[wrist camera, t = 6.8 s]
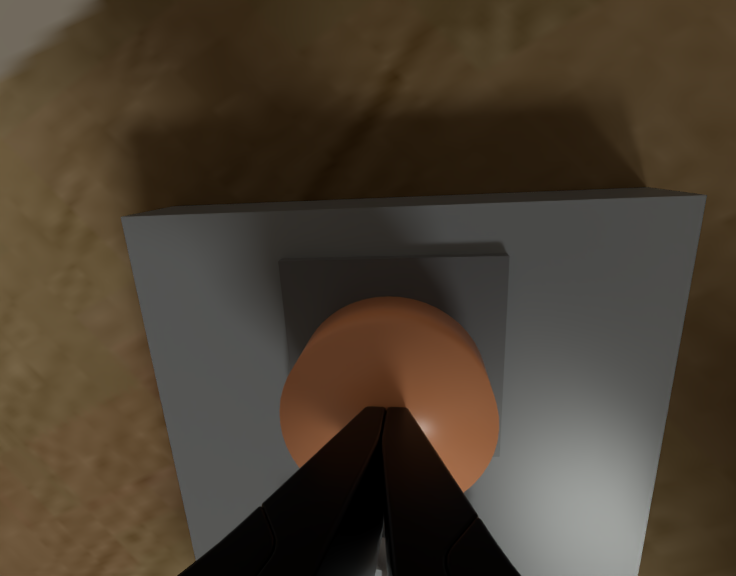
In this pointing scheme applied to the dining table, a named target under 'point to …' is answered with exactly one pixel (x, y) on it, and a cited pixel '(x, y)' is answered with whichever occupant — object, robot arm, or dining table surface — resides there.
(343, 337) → the push button
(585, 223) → the switch console
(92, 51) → the dining table surface
